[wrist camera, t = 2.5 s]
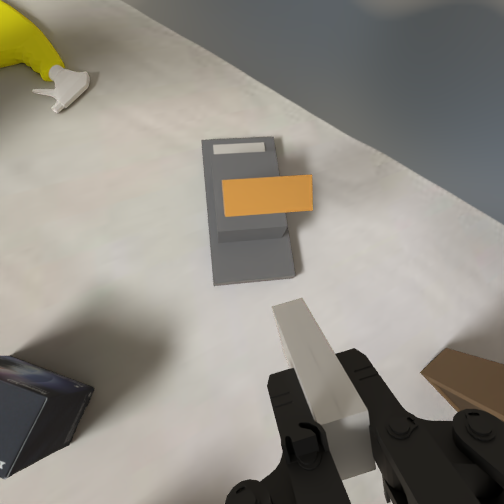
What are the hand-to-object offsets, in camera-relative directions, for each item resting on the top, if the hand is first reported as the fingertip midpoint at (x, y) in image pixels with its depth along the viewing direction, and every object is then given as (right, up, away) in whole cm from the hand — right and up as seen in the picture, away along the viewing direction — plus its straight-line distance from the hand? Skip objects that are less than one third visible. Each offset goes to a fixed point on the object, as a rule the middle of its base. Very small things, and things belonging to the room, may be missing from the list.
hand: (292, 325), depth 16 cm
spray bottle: (-37, +32, +33) cm, 59 cm away
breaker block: (-3, +9, +28) cm, 30 cm away
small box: (-25, -12, +20) cm, 34 cm away
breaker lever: (-2, +11, +22) cm, 25 cm away
